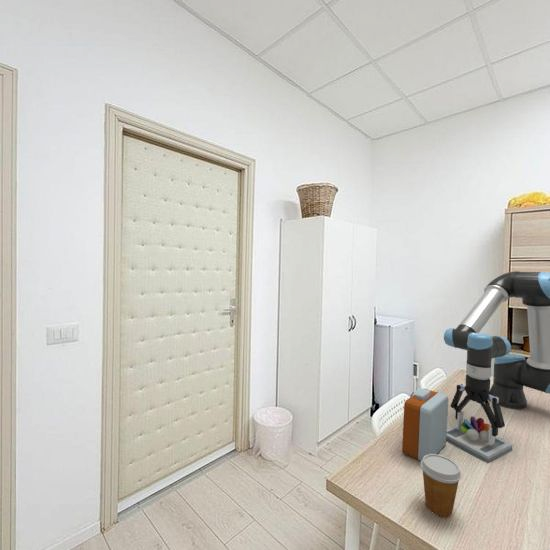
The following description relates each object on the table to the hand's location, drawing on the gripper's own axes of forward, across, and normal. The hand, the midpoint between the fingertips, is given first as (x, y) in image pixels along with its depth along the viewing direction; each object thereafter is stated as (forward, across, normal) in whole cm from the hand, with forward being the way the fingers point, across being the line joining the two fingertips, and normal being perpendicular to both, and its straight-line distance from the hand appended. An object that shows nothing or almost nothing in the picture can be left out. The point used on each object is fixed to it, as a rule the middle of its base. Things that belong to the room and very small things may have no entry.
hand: (474, 436), depth 113 cm
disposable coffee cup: (+3, +13, -41) cm, 43 cm away
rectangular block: (+3, -6, -20) cm, 21 cm away
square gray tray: (+3, 0, 0) cm, 3 cm away
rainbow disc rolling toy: (+1, 0, 0) cm, 1 cm away
